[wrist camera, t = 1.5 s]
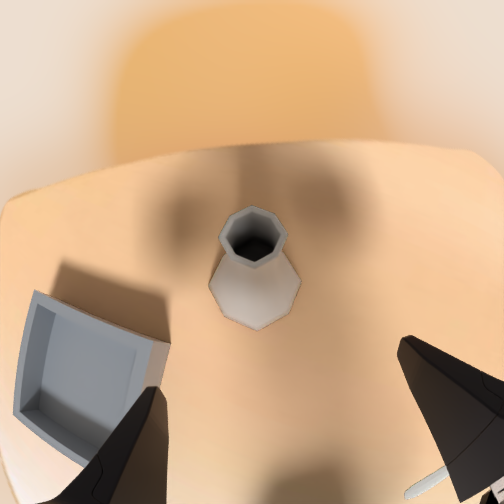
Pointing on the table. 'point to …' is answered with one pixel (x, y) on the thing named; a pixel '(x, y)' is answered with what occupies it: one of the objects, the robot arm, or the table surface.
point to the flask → (254, 270)
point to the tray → (80, 375)
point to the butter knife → (426, 483)
